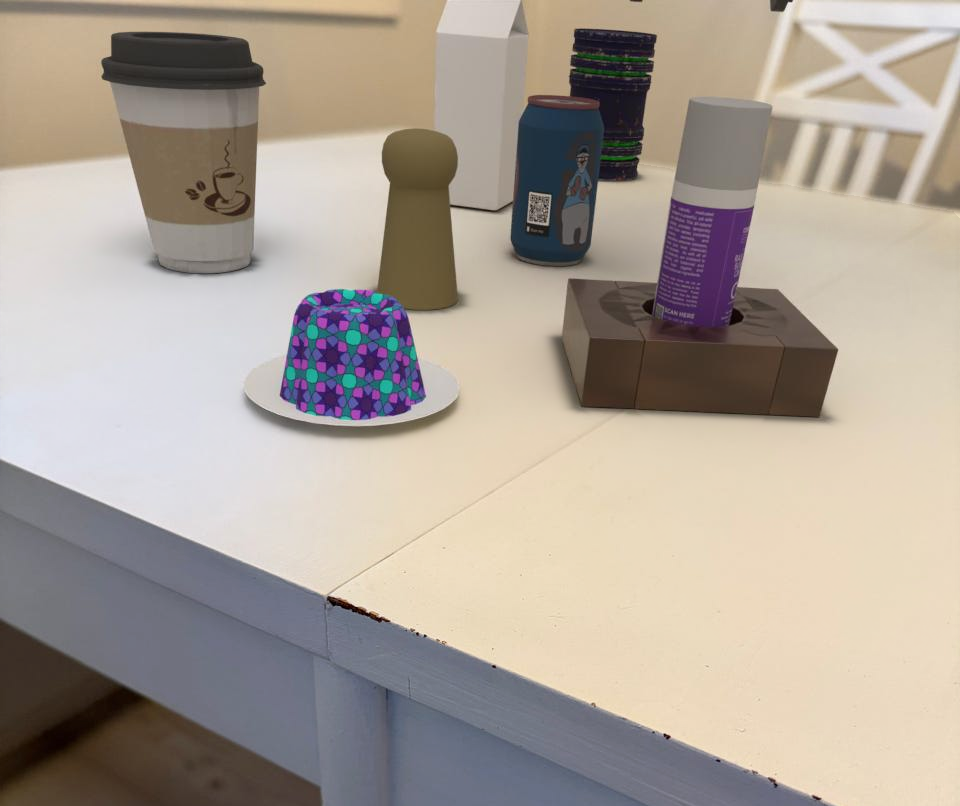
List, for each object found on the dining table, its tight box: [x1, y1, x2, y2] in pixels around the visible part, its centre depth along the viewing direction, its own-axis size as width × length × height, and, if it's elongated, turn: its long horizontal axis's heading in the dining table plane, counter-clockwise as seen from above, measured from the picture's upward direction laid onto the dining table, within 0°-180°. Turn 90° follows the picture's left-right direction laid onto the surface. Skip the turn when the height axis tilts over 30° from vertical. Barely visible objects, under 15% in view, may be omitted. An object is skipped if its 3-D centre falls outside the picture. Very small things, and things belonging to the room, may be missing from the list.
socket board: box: [561, 278, 839, 418], centre depth 58 cm, size 14×12×4 cm
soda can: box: [509, 94, 604, 267], centre depth 78 cm, size 7×7×12 cm
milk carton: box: [433, 0, 530, 211], centre depth 93 cm, size 7×7×19 cm
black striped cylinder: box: [568, 27, 658, 182], centre depth 113 cm, size 10×10×15 cm
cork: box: [376, 127, 459, 311], centre depth 66 cm, size 6×6×11 cm
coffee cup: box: [100, 31, 267, 274], centre depth 70 cm, size 11×11×15 cm
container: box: [652, 96, 773, 327], centre depth 55 cm, size 5×5×15 cm
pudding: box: [243, 288, 461, 427], centre depth 52 cm, size 12×12×5 cm
